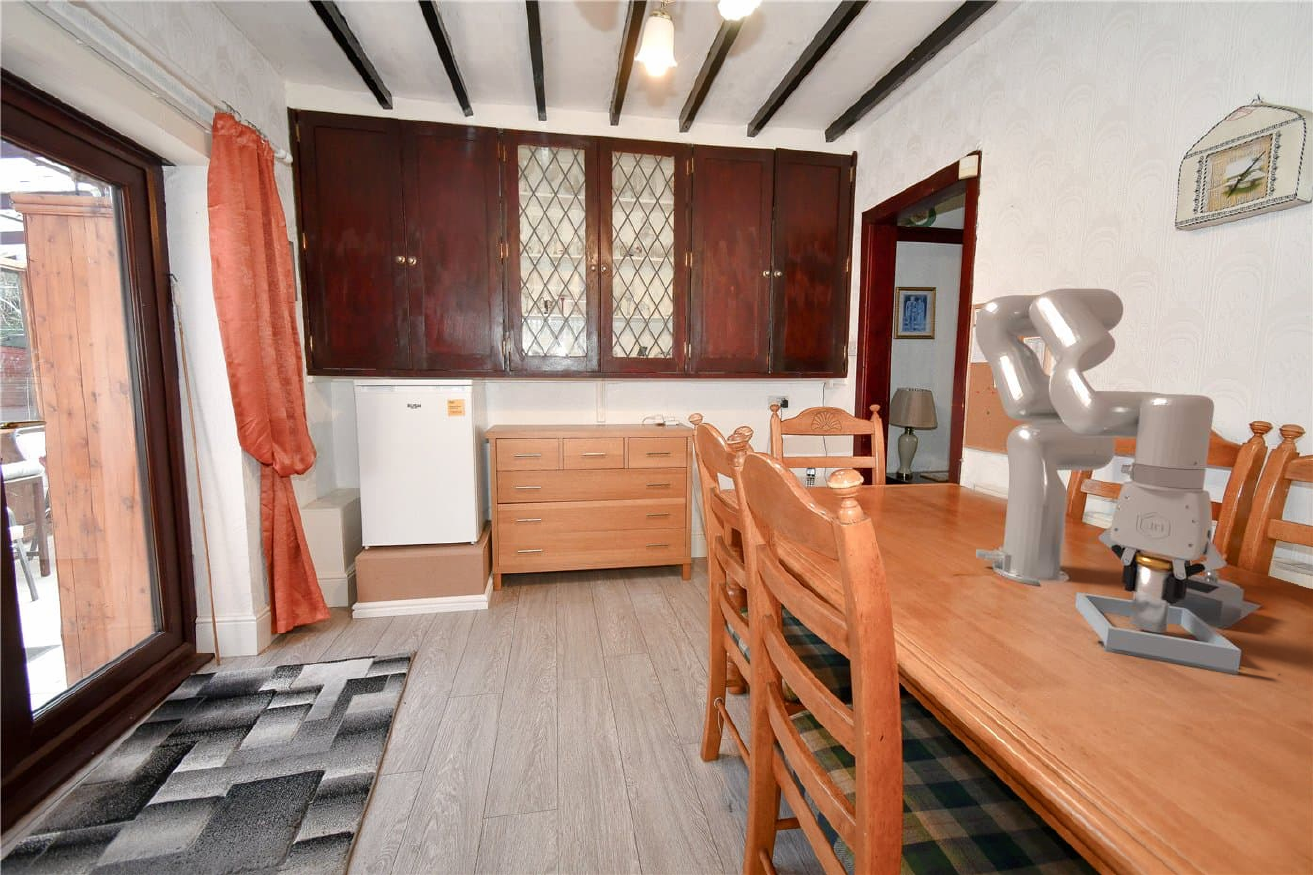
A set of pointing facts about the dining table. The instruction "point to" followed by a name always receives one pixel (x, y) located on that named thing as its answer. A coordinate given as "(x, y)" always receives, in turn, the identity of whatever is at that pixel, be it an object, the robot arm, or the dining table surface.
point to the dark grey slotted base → (1215, 600)
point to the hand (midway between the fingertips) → (1151, 594)
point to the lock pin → (1151, 592)
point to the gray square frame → (1160, 636)
